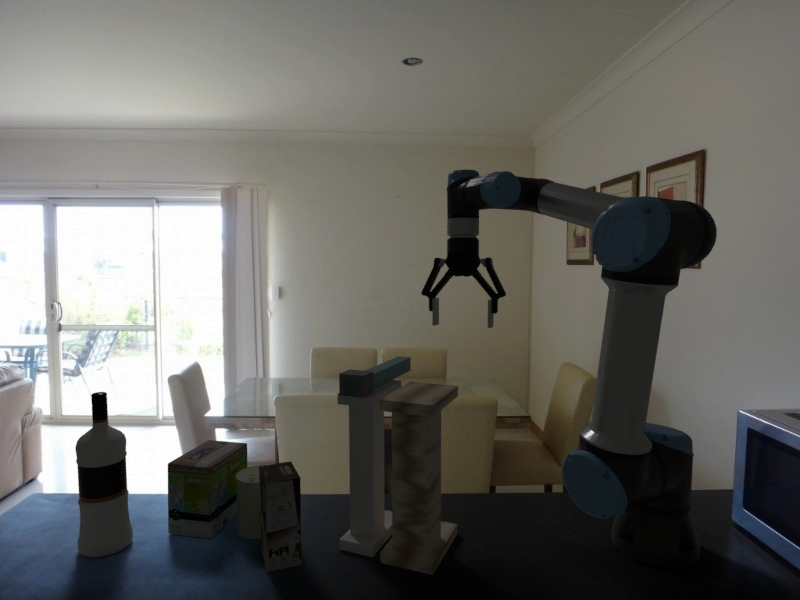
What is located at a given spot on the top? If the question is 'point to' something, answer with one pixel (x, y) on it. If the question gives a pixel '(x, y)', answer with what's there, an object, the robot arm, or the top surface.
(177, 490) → the tea box
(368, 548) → the stand
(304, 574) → the top surface
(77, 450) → the vodka
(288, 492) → the coffee box
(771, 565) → the top surface
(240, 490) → the can
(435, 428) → the pedestal
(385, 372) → the teal bar
